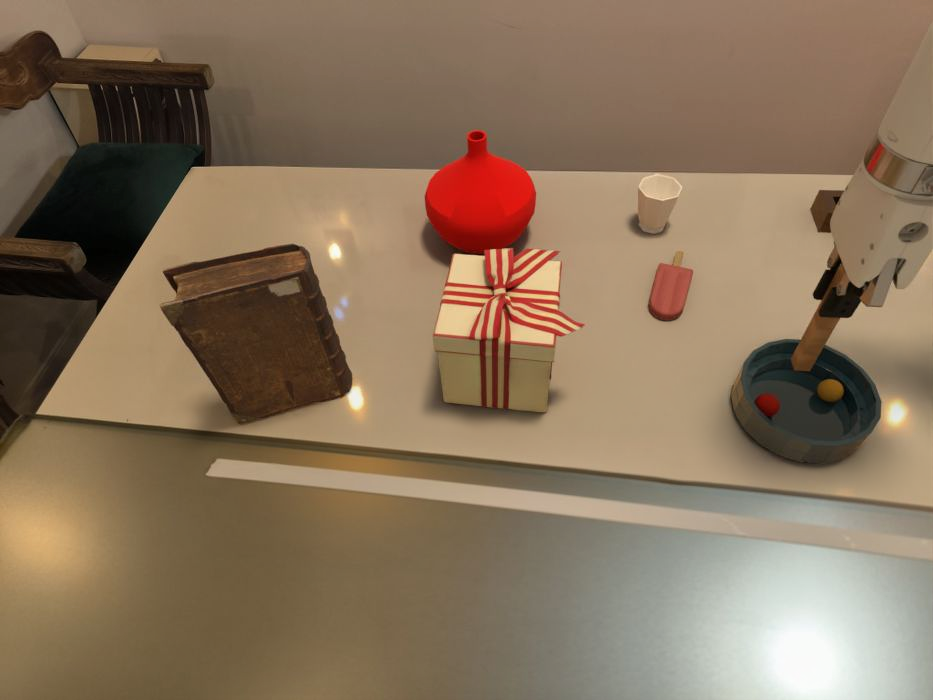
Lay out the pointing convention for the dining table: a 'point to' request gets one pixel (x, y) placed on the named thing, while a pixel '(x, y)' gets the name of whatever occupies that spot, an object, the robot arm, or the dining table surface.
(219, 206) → the dining table surface
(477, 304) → the gift box
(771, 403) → the red ball
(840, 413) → the bowl
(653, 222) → the cup
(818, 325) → the stick
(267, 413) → the book
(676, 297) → the popsicle
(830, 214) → the holder
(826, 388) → the ochre ball
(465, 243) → the vase
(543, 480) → the dining table surface
